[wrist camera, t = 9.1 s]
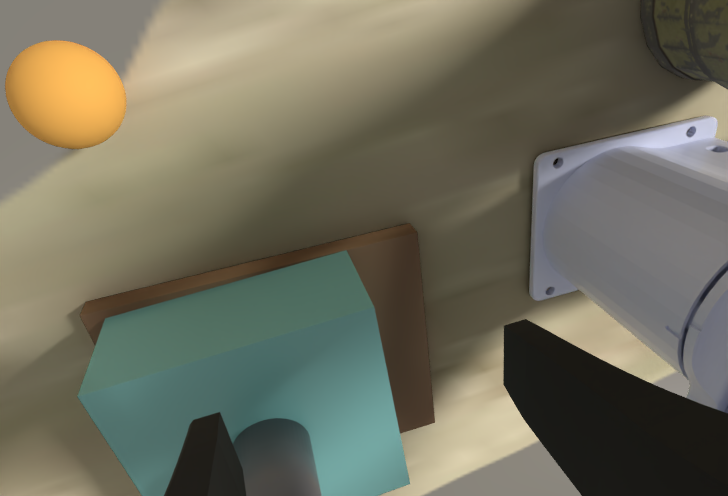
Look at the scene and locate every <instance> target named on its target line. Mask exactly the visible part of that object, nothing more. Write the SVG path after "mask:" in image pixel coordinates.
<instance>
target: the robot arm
mask: <svg viewBox="0 0 728 496" xmlns="http://www.w3.org/2000/svg"><path fill="white" fill-rule="evenodd" d="M688 129H689V131H688V132H687V130H688ZM716 129H717V119H716V118H714V117H711V116H702V117H697V118H693V119H689V120H684V121H680V122H676V123H671V124H667V125H663V126H658V127H654V128H650V129H645V130H641V131H636V132H632V133H628V134H623V135H619V136H615V137H610V138H606V139H602V140H597V141H593V142H589V143H584V144H580V145H576V146H571V147H567V148H562V149H558V150H554V151H549V152H545V153H542V154H540V155H539V156H538V157H537V158H536V160H535V162H534V174H533V201H532V229H531V256H530V283H529V294H530V296H531V297H532V298H533V299H534V300H536V301H541V300H545V299H548V298H552V297H555V296H559V295H562V294H566V293H570V292H573V291H577V290H580V291H581V292H582V293H583V294H585V295H586V296H587V297H588V298H589V299H591V300H592V301H593V302H594V303H596V304H597V305H598V306H599V307H600V308H602V309H603V310H604V311H605V312H606V313H608V314H609V315H610V316H611V317H612V318H614V319H615V320H616V321H617V322H618V323H620V324H621V325H622V326H623V327H624V328H626V329H627V330H628V331H629V332H631V333H632V334H633V335H634V336H635V337H637V338H638V339H639V340H640V341H641V342H643V343H644V344H645V345H646V346H647V347H649V348H650V349H651V350H652V351H653V352H655V353H656V354H657V355H658V356H659V357H661V358H662V359H663V360H664V361H666V362H667V363H668V364H669V365H670V366H672V367H673V368H674V369H675V370H676V371H678V372H679V373H680V374H681V375H682V376H684V377H685V378H686V379H687V380H689V384H690V387H689V392H688V394H687V397H686V398H685V397H682V396H680V395H677V394H675V393H672V392H670V391H667V390H665V389H663V388H660V387H658V386H655V385H653V384H651V383H649V382H647V381H645V380H642V379H640V378H638V377H636V376H634V375H632V374H629V373H627V372H625V371H623V370H621V369H619V368H617V367H615V366H613V365H611V364H609V363H607V362H605V361H603V360H601V359H599V358H597V357H595V356H593V355H591V354H589V353H588V352H586V351H584V350H582V349H580V348H578V347H576V346H574V345H573V344H571V343H569V342H567V341H565V340H563V339H562V338H560V337H558V336H556V335H554V334H552V333H551V332H549V331H547V330H545V329H543V328H541V327H540V326H538V325H536V324H534V323H532V322H530V321H528V320H526V319H525V320H521V321H518V322H515V323H511V324H508V325H505V326H504V386H505V388H506V389H507V391H508V393H509V395H510V397H511V398H512V400H513V402H514V404H515V405H516V407H517V409H518V410H519V412H520V414H521V415H522V417H523V419H524V420H525V421H526V423H527V424H528V425H529V427H530V428H531V429H532V431H533V432H534V433H535V435H536V436H537V437H538V439H539V440H540V441H541V443H542V444H543V445H544V447H545V448H546V449H547V451H548V452H549V453H550V455H551V456H552V457H553V458H554V460H555V461H556V462H557V464H558V465H559V466H560V467H561V469H562V470H563V471H564V473H565V474H566V475H567V477H568V478H569V479H570V481H571V482H572V483H573V485H574V486H575V487H576V488H577V490H578V491H579V492H580V494H581V495H582V496H728V142H727V141H724V140H720V139H717V138H715V134H716ZM557 158H558V162H557V163H556V165H554V166H553V162H554V160H555V159H557ZM549 287H550V288H549ZM548 288H549V289H548ZM547 289H548V290H547ZM546 290H547V291H546ZM164 496H246V489H245V482H244V475H243V469H242V466H241V463H240V461H239V458H238V456H237V453H236V451H235V448H234V446H233V443H232V441H231V438H230V436H229V433H228V431H227V428H226V426H225V423H224V421H223V418H222V416H221V413H220V412H218V413H214V414H211V415H208V416H204V417H201V418H198V419H195V420H193V421H192V422H191V424H190V425H189V428H188V432H187V435H186V438H185V441H184V444H183V447H182V450H181V453H180V455H179V458H178V461H177V464H176V466H175V469H174V472H173V474H172V477H171V480H170V482H169V484H168V487H167V489H166V492H165V494H164Z"/></svg>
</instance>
